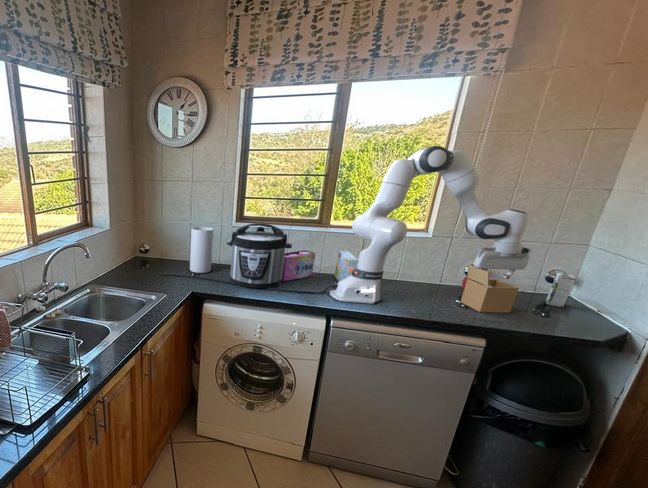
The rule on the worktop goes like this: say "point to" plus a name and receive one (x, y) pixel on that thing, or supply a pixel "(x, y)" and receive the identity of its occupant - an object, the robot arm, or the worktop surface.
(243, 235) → the pressure cooker
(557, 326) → the worktop surface
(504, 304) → the open cardboard box
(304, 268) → the gum box
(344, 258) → the snack box
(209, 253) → the cylinder vase
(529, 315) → the worktop surface
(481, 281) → the flap
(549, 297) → the syrup box
